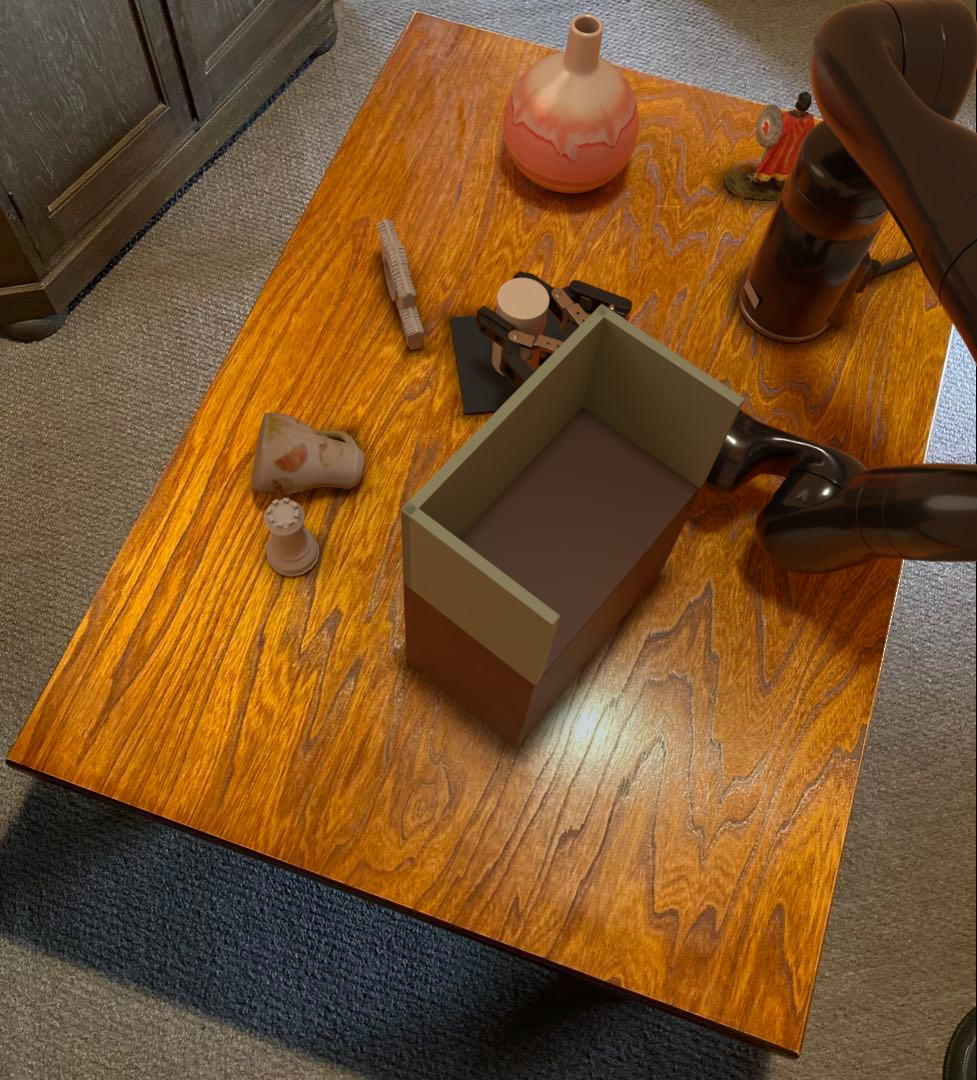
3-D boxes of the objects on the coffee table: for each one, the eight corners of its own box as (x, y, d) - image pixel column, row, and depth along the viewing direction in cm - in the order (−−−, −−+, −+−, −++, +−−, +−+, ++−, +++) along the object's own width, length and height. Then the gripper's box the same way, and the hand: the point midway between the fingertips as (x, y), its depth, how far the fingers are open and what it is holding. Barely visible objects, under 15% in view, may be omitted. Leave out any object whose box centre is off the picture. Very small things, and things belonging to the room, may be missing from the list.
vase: (492, 124, 116) (504, -25, 101) (616, 119, 118) (647, -28, 102) (507, 221, 110) (522, 79, 95) (638, 215, 112) (673, 74, 96)
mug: (373, 511, 95) (309, 480, 86) (283, 513, 99) (213, 484, 90) (383, 430, 97) (320, 392, 88) (293, 436, 101) (225, 400, 92)
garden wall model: (425, 350, 103) (425, 311, 97) (407, 353, 102) (406, 314, 97) (395, 254, 108) (393, 212, 102) (377, 257, 107) (375, 215, 102)
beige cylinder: (535, 337, 103) (544, 275, 95) (543, 377, 101) (553, 316, 93) (488, 341, 103) (493, 279, 95) (495, 381, 101) (501, 321, 93)
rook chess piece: (327, 541, 93) (320, 497, 86) (307, 585, 91) (297, 544, 84) (280, 525, 94) (268, 479, 87) (258, 568, 92) (244, 526, 85)
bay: (661, 571, 94) (745, 398, 70) (515, 749, 86) (552, 625, 62) (556, 495, 97) (601, 303, 72) (405, 661, 89) (400, 509, 65)
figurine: (803, 172, 116) (843, 80, 105) (802, 209, 113) (842, 119, 103) (725, 160, 116) (756, 67, 105) (722, 196, 114) (754, 105, 103)
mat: (561, 311, 106) (561, 308, 105) (580, 405, 101) (581, 402, 101) (449, 319, 104) (450, 317, 104) (464, 415, 100) (464, 413, 99)
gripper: (708, 323, 92) (549, 221, 96) (610, 431, 86) (446, 318, 91) (688, 374, 98) (541, 277, 103) (596, 477, 93) (445, 370, 97)
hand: (497, 297), depth 97 cm, fingers closed on beige cylinder, 4 cm apart
